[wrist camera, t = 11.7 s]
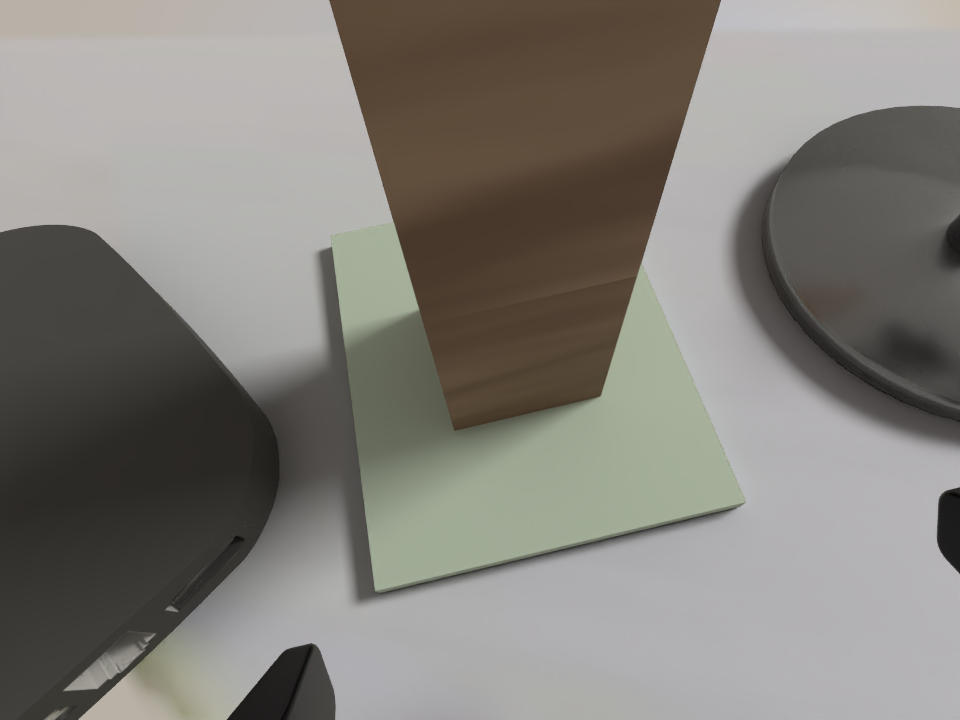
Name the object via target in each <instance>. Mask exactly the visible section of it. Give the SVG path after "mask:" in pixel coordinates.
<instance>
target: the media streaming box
mask: <svg viewBox="0 0 960 720" xmlns="http://www.w3.org/2000/svg"><path fill="white" fill-rule="evenodd" d="M278 476H279V456H278V448H277V443H276V438H275V435H274V432H273V429H272V427H271V425H270V422H269V420H268V419H267V417H266V416H265V415H264V413H263V412H262V411H261V410H260V408H259V407H258V406H257V404H256V403H255V402H254V401H253V399H252V398H251V397H250V396H249V394H248V393H247V392H246V391H245V389H244V388H243V387H242V386H241V384H240V383H239V382H238V381H237V380H236V378H235V377H234V376H233V375H232V373H231V372H230V371H229V370H228V369H227V368H226V366H225V365H224V364H223V363H222V362H221V361H220V359H219V358H218V357H217V356H216V355H215V354H214V353H213V351H212V350H211V349H210V348H209V347H208V346H207V345H206V344H205V342H204V341H203V340H202V339H201V338H200V337H199V336H198V335H197V334H196V333H195V331H194V330H193V329H192V328H191V327H190V326H189V325H188V324H187V323H186V322H185V321H184V320H183V319H182V318H181V317H180V316H179V315H178V313H177V312H176V311H175V310H174V309H173V308H172V307H171V306H170V305H169V304H168V303H167V302H166V301H165V300H164V299H163V298H162V297H161V296H160V295H159V294H158V293H157V292H156V291H155V290H154V289H153V288H152V287H151V286H150V285H149V284H148V283H147V282H146V281H145V280H144V279H143V278H142V277H141V276H140V275H139V274H138V273H137V272H136V271H135V270H134V269H133V268H132V267H131V266H130V265H129V264H128V263H127V262H126V261H125V260H124V259H123V258H122V257H121V256H120V255H119V254H118V253H117V252H116V251H115V250H114V249H113V248H111V247H110V246H109V245H108V244H107V243H106V242H105V241H104V240H103V239H102V238H101V237H99V236H98V235H97V234H96V233H94V232H92V231H90V230H87V229H84V228H80V227H75V226H67V225H41V226H31V227H24V228H18V229H13V230H9V231H4V232H0V720H78V719H79V718H80V717H81V716H82V715H83V714H85V713H86V711H88V710H89V709H90V708H91V707H92V706H93V705H94V704H95V703H97V702H98V701H99V700H100V699H101V698H102V697H103V696H104V695H105V694H106V693H107V692H108V691H110V690H111V689H112V688H113V687H114V686H115V685H116V684H117V683H118V682H119V681H120V680H121V679H122V678H123V677H125V676H126V675H127V674H128V673H129V672H130V671H131V670H132V669H133V668H134V667H135V666H136V665H137V664H138V663H139V662H141V661H142V660H143V659H144V658H145V657H146V656H147V655H148V654H149V653H150V652H151V651H152V650H153V649H154V648H155V647H156V646H157V645H158V644H159V643H160V642H161V641H162V640H164V639H165V638H166V637H167V636H168V635H169V634H170V633H171V632H172V631H173V630H174V629H175V628H176V627H177V626H178V625H179V624H180V623H181V622H182V621H183V620H184V619H185V618H186V617H187V616H188V615H189V614H190V613H191V612H192V611H193V610H194V609H195V608H196V607H197V606H198V605H199V604H200V603H201V602H202V601H203V600H204V599H205V598H206V597H207V596H208V595H209V594H210V593H211V592H212V591H213V590H214V589H215V588H216V587H217V586H218V585H219V584H220V583H221V582H222V581H223V580H224V579H225V578H226V577H227V576H228V575H229V574H230V573H231V572H232V571H233V570H234V569H235V568H236V567H237V566H238V565H239V564H240V563H241V562H242V561H243V560H244V559H245V557H246V556H247V554H248V553H249V552H250V550H251V549H252V547H253V546H254V544H255V543H256V541H257V539H258V538H259V536H260V534H261V532H262V530H263V528H264V526H265V524H266V522H267V519H268V517H269V514H270V512H271V509H272V506H273V502H274V499H275V495H276V490H277V485H278Z"/></svg>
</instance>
